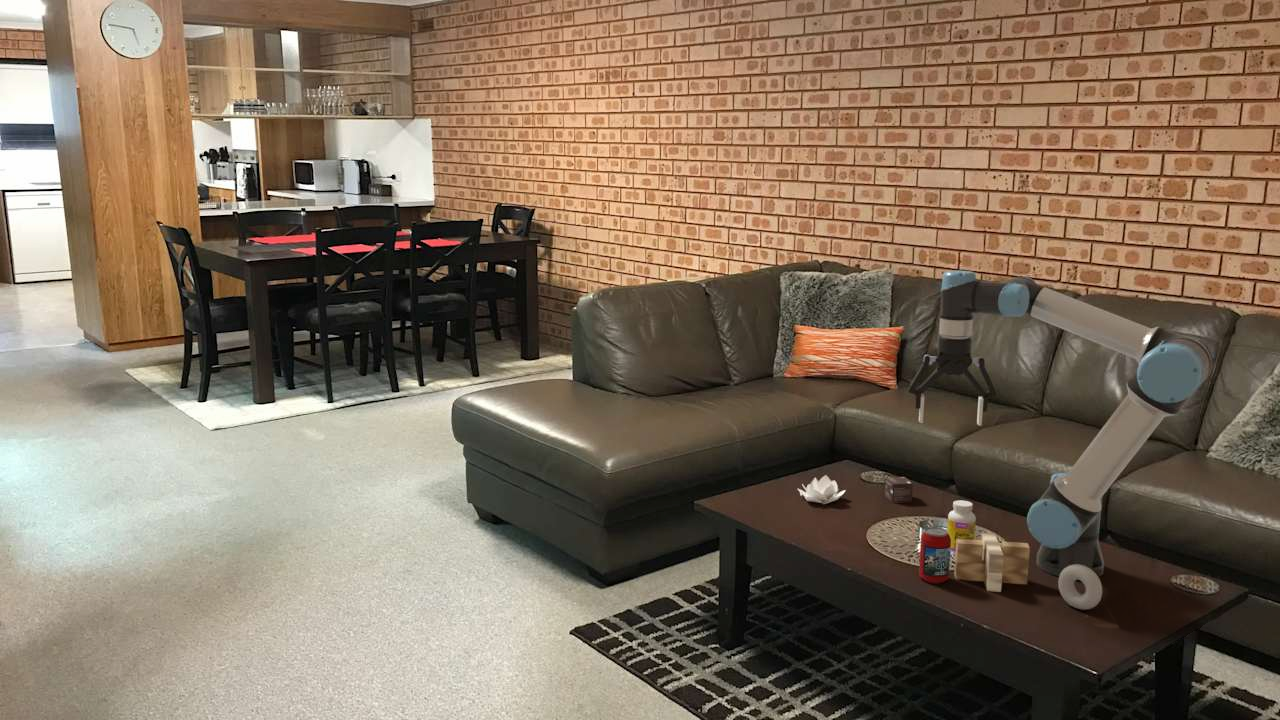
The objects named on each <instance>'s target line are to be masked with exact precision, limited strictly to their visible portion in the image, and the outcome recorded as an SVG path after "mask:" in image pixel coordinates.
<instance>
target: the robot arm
mask: <svg viewBox="0 0 1280 720" xmlns="http://www.w3.org/2000/svg"><path fill="white" fill-rule="evenodd" d="M976 277H977V276H976V273H975V272H974V271H970V270H969V271H968V270H947V271H946V272H944V273H943V276H942V281H941V282H942V283H941V289H940V313H939V327H938V328H939V329H938V334H939V337H938V341H937V354H936V356H931V355H929V354H924V355H923V359H922V363H921V365H920V367H919V369H918V370H917V372H916V374H915V376H914V377H913V378H912V380H911V382H910V384H909V386H908V388H907V390H908V393H910V394H913V395H915V397H914V398H915V399H914V406H915V409H918V410H919V411H918V422H919V423H920V424H923V423H924V408H925V395H924V393H925V392H926V391H927V390H928V388H930V387H931V386H932V384H934V383H935V381H936V380H938V378H940V377H941V376H942V375H943V374H944V375H946V376H953V375H955V376H962V375H963V374H964V375H965V377H966V378H967V379H968V381H970V383H971V384H972V385H973V386H974V387H975V389H976V390H977V391H978V393H979V394H980V395H981V396H978V402H977V417H976V424H977V425H978V426H979V427H980V426H981V427H982V426H983V412H987V411H988V408H989V405H988V403H989V399H990V398H991V397H996V396H997V395H998V394H997V391H996V389H995V387H994V385H993V382H992V380H991V378H990V376H989V374H988V371H987V370H986V366H985V359H984V358H983V356H981V355H980V356H978V357H972V356H971V355H972V353H971V352H972V341H973V340H972V338H971V336H972V335H973V321H974V314H983V315H993V316H1001V317H1002V316H1003V317H1006V318H1011V317H1014V318H1015V317H1016V318H1017V317H1018V318H1020V317H1023V316H1024V315H1028V316H1030V317H1032V318H1035V319H1037V320H1040V321H1042V322H1045V323H1047V324H1049V325H1052V326H1054V327H1057V328H1058V329H1062V330H1064V331H1066V332H1069V333H1070V334H1073V335H1076V336H1079V337H1081V338H1082V339H1083V338H1084V339H1086V340H1089V341H1091V342H1093V343H1095V344H1099V345H1100V346H1103V347H1105V348H1108V349H1110V350H1112V351H1115V352H1117V353H1120V354H1122V355H1125V356H1127V357H1130V358H1132V359H1134V360H1136V361H1137V364H1138V367H1137V369H1135V371H1134V373H1133V374H1132V375H1131V377H1130V378H1129V379H1128V380H1127V382H1126V388H1127V389H1126V390H1127V395H1126V396H1125V397H1124V399H1123V400H1122V401H1121V402H1120V404H1119V405H1118V407H1117V408H1116V409H1115V410H1114V412H1113V413H1112V414H1111V416H1110V418H1108V420H1107V421H1106V423H1105V424H1104V425H1103V426H1102V428H1101V429H1100V431H1098V433H1097V435H1096V436H1095V437H1094V438H1093V439H1092V441H1091V442H1090V444H1089V445H1088V446H1087V448H1086V449H1085V450H1084V451H1083V452H1082V454H1081V456H1080V457H1079V458H1078V459H1077V461H1076V463H1074V465H1073V466H1072V468H1070V470H1069V472H1067V473H1065V472H1059V473H1054V474H1052V475H1051V477H1050V481H1049V486H1048V488H1047V489H1046V490H1045V492H1043V494H1042V496H1041V497H1039V499H1038V500H1037V501H1035V502H1034V503H1033V504H1032V505H1031V506H1030V507H1029V511H1028V512H1027V517H1026V523H1027V524H1026V525H1027V527H1028V529H1029V530H1028V531H1029V532H1030V534H1031V535H1032V537H1033V538H1034V539H1035V540H1036V541H1037V542H1039V543H1040V546H1039V549H1038V551H1037V553H1036V562H1035V563H1036V566H1037V568H1039V569H1040V570H1042V571H1043V572H1046V573H1048V574H1050V575H1053V576H1058V577H1059V576H1060V573H1061V572H1062V571H1063V569H1065V568H1066V567H1068V566H1069V565H1074V564H1079V565H1084V566H1086V567H1088V568H1090V569H1091V570H1092V571H1093V572H1094V573H1096V575H1097V576H1098V578H1100V577H1101V576H1103V575H1104V571H1105V570H1104V569H1105V562H1104V557H1103V553H1102V550H1101V546H1100V543H1099V537H1100V536H1099V535H1100V528H1101V527H1100V525H1101V524H1100V523H1101V517H1102V516H1101V514H1102V504H1103V503H1102V502H1103V496H1104V494H1105V493H1106V492H1107V491H1108V490H1109V488H1110V487H1111V486H1112V485H1113V483H1114V482H1115V481H1116V479H1117V478H1118V477H1119V475H1121V473H1122V472H1123V470H1124V469H1125V468H1126V467H1127V466H1128V464H1129V463H1130V462H1131V461H1132V459H1133V458H1134V457H1135V456H1136V454H1137V453H1138V451H1140V449H1141V448H1142V446H1143V445H1144V444H1145V443H1146V442H1147V440H1148V439H1149V438H1150V436H1151V435H1152V434H1153V433H1154V431H1155V430H1156V428H1157V427H1158V426H1159V425H1160V423H1162V421H1163V419H1164V418H1166V417H1173V416H1177V414H1178V413H1179V412H1180V411H1181V410H1182V408H1183V407H1184V406H1185V404H1186V403H1187V402H1188V401H1189V399H1190V398H1192V395H1194V394H1195V392H1197V390H1198V389H1199V387H1200V386H1201V385H1203V384H1204V382H1205V381H1206V380H1207V379H1208V378H1209V376H1210V374H1211V371H1212V366H1213V365H1212V363H1213V362H1212V357H1211V354H1210V352H1209V351H1208V349H1207V348H1206V347H1205V345H1203V344H1202V343H1201V342H1200V341H1198V340H1196V339H1194V338H1192V337H1189V336H1186V335H1183V334H1182V333H1181V334H1180V333H1177V332H1175V331H1172V330H1168V329H1166V328H1164V327H1161V326H1156V327H1153V328H1150V327H1148V326H1146V325H1143V324H1141V323H1137V322H1135V321H1132V320H1130V319H1127V318H1125V317H1122V316H1120V315H1117V314H1115V313H1112V312H1109V311H1107V310H1104V309H1101V308H1100V307H1096V306H1094V305H1091V304H1089V303H1086V302H1084V301H1081V300H1078V299H1076V298H1074V297H1071V296H1070V295H1069V296H1068V295H1067V294H1066V295H1065V294H1063V293H1061V292H1058V291H1055V290H1053V289H1051V288H1048V287H1045V286H1043V285H1041V284H1038V283H1037V282H1036V281H1035V280H1034V279H1032V278H1031V277H1027V276H1015V277H1013V278H1010V279H1007V280H1003V281H1000V282H999V281H998V282H997V281H982V280H981V281H980V280H977V278H976ZM934 362H936V364H937V367H936V369H935V370H934V371H933V372H932V373H931V374H930V375H929V376H928V377H927V379H925V380H924V382H922V384H920V385H919V383H920V382H921V380H922V378H923V377H924V375H925V373H926V372H927V370H928V369H929V366H932V364H933V363H934ZM972 363H973V364H974V365H975V367H977V368H978V370H979V373H980V374H981V377H982V378H983V380H984V383H985V385H986V387H987V389H988V390H987V391H986V390H985V388H983V386H982V385H981V384H980V383H979V381H978V380H977V379H976V378H975V376H974V374H972V372H971V371H970V370H969V367H970V366H971V365H972ZM918 385H919V386H918Z"/></svg>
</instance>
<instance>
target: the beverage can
mask: <svg viewBox="0 0 1280 720" xmlns="http://www.w3.org/2000/svg"><path fill="white" fill-rule="evenodd" d="M950 549H951V538H950V536H949V534H948V531H947V528H946V529H945V528H942V527H939V526H937V527H936V526H931V527H930V526H929V527H926V528H925V529H924V531H923V533H922V534H921V537H920V549H919V552H920V553H919V568H918V570H919V571H918V576H919V577H920V578H921V579H922V580H924V581H925V582H927V583H930V582H931V584H942V583H944V582H945V581H948V580H949V576H950V575H949V574H950V563H951V562H950V561H951V552H950ZM941 582H942V583H941Z"/></svg>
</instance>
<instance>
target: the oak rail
mask: <svg viewBox="0 0 1280 720" xmlns="http://www.w3.org/2000/svg"><path fill="white" fill-rule="evenodd" d="M1030 549H1031V548H1030V545H1029V543H1028V542H1017V541H1015V542H1014V541H1002V542H1001V550H1002V552H1003V554H1004V558H1003V571H1002V584H1013V585H1014V584H1016V585H1028V576H1029V564H1030V563H1029V562H1030V552H1031V551H1030ZM954 558H955V559H954V578H955V580H960V579H961V580H962V581H974V582H985V568H986V564H985V562H984V559H983V542H982V540H981V539H974V540H969V539H957V541H956V554H955V557H954ZM961 580H960V581H961Z"/></svg>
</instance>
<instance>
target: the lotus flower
mask: <svg viewBox="0 0 1280 720" xmlns="http://www.w3.org/2000/svg"><path fill="white" fill-rule="evenodd" d="M801 485H802V488H803V489H804V490H805V491H804V490H802V489H800V488H797V491H798V492H799V495H800V496H801V497H802V496H804V500H806V501H807V502H812V503H819V504H823V505H826V504H829V503H832V502H835V501H838V500H839V498H840V497H842V496H843V495H844V493H845V492H846V491H847V490H846V489H844V490H841V491H840V488H838V487H839V486H838V483H837V482H836V480H831V479H830V478H829V476H828V475H827V474H825V475H824V476H822V477H821V478H820V479H819V480H818V479H817V477H814V478H813V480H811V482H810V483H808V484H807V486H806V487H805V485H804V484H803V483H801ZM838 491H839V492H838Z"/></svg>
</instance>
